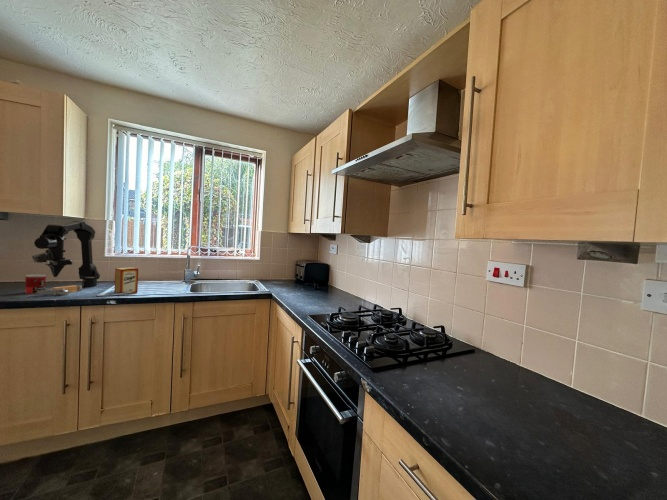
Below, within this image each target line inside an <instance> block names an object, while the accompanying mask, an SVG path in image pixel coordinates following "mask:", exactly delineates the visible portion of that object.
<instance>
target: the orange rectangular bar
mask: <svg viewBox="0 0 667 500" xmlns="http://www.w3.org/2000/svg"><path fill="white" fill-rule="evenodd" d="M77 286H78V285H74V284H73V285H67V286H66V285H64V286H56V287H51V289H52V290H55V289H59V290H60V289H65V290H69V291H77ZM77 292H78V291H77Z"/></svg>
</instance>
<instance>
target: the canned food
mask: <svg viewBox="0 0 667 500" xmlns="http://www.w3.org/2000/svg"><path fill="white" fill-rule="evenodd" d="M24 279H25V285H24V286H25V287H24V288H25V290H24V291H25V292H24V293H25V294H29V295H32V294H37V290H47V289H46V286H47V274H42V273H41V274H40V273H38V274H36V273H35V274H26V275H25V278H24Z"/></svg>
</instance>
